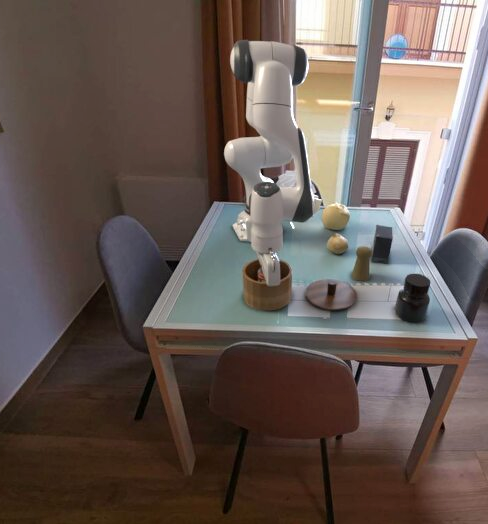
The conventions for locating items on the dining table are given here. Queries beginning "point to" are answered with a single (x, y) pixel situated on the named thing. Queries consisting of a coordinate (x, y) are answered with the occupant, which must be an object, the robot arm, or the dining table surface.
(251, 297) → the round wooden box
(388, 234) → the small box
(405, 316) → the ink bottle
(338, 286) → the lid
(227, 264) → the dining table surface
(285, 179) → the spiral staircase
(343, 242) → the onion
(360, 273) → the tan pawn
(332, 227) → the beige round lump
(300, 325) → the dining table surface
